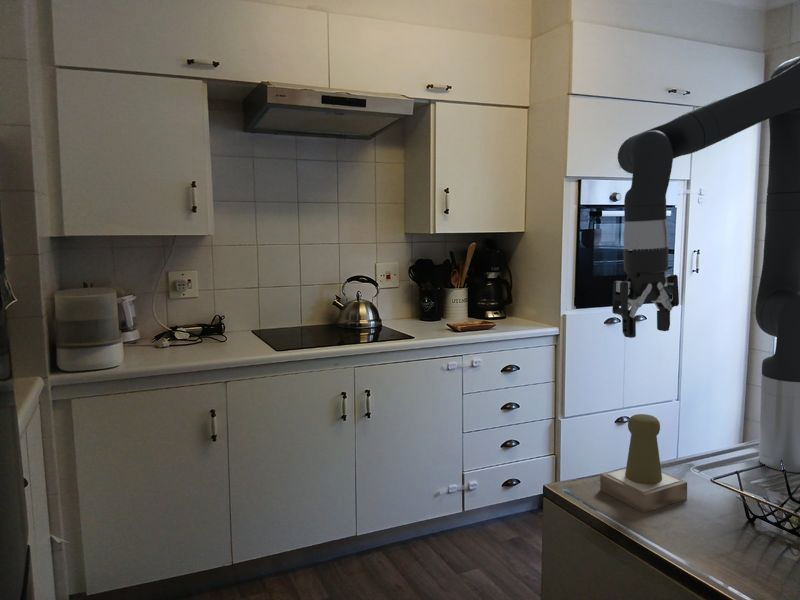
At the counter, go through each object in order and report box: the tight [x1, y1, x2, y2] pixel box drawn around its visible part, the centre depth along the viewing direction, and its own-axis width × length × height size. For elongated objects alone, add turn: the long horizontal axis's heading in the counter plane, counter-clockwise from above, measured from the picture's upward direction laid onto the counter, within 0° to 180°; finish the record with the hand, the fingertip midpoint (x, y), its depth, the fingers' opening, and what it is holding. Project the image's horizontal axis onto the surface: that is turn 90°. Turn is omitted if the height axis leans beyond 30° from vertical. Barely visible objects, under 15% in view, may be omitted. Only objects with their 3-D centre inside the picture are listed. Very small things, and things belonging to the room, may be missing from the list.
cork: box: [625, 413, 662, 484], centre depth 107 cm, size 6×6×11 cm
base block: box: [599, 466, 688, 514], centre depth 107 cm, size 10×10×3 cm
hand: (646, 333), depth 113 cm, fingers open, 8 cm apart
